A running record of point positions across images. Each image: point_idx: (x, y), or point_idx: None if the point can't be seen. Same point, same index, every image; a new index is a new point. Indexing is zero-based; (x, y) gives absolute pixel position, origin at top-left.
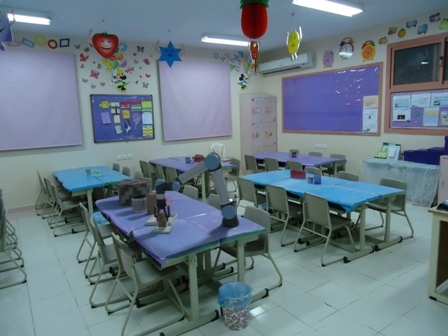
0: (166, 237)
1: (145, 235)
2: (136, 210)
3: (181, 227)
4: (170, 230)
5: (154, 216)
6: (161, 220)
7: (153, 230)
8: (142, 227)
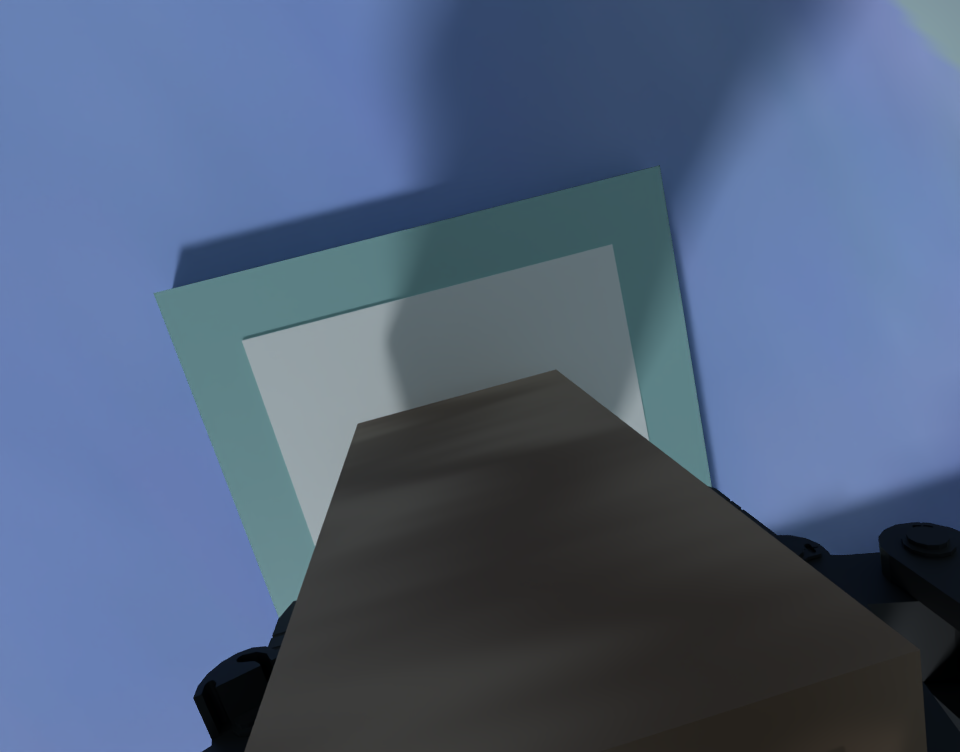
0: (91, 16)
1: (708, 22)
2: None
3: (158, 715)
4: (223, 417)
5: (944, 538)
6: (479, 477)
7: (647, 296)
8: None
